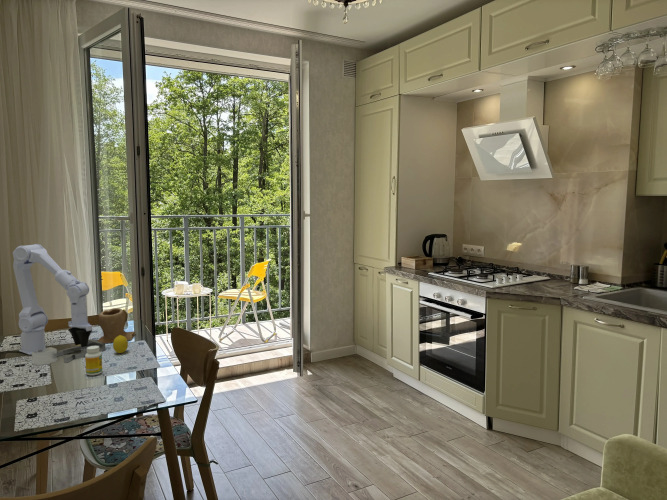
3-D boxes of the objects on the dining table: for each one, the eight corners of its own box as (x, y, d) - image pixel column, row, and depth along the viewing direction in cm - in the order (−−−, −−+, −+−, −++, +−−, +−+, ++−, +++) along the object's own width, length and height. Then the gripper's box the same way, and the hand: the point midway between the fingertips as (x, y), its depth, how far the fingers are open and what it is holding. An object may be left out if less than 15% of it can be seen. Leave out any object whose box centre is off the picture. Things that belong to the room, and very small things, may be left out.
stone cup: (97, 348, 204) (95, 313, 202) (98, 340, 214) (97, 307, 213) (136, 343, 210) (134, 310, 208) (135, 336, 220) (134, 304, 219)
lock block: (32, 364, 183) (31, 351, 183) (51, 359, 189) (50, 346, 189) (38, 366, 181) (37, 353, 181) (57, 361, 187) (56, 348, 186)
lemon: (122, 356, 192) (121, 337, 191) (110, 355, 193) (109, 336, 192) (131, 352, 197) (130, 333, 196) (119, 351, 198) (118, 332, 198)
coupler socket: (48, 357, 191) (48, 348, 191) (89, 346, 205) (89, 338, 205) (65, 363, 184) (65, 354, 184) (107, 351, 198) (106, 343, 198)
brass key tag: (73, 346, 205) (73, 343, 205) (77, 345, 208) (77, 341, 207) (84, 347, 204) (84, 344, 204) (89, 346, 206) (89, 342, 206)
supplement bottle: (86, 371, 175) (84, 346, 174) (102, 369, 177) (101, 344, 176) (85, 376, 170) (84, 350, 169) (102, 374, 172) (101, 348, 171)
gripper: (60, 312, 195) (61, 345, 196) (78, 317, 187) (80, 351, 188) (77, 309, 201) (79, 340, 202) (96, 313, 193) (98, 346, 194)
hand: (81, 345), depth 195 cm, fingers open, 4 cm apart
